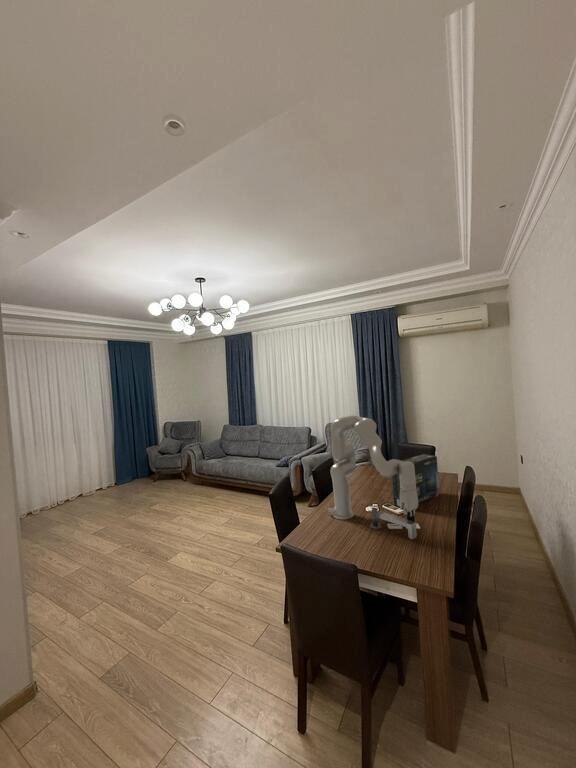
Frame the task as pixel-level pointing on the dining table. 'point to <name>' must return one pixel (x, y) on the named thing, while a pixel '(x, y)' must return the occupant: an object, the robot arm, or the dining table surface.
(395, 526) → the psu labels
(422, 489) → the router box
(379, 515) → the cable arm
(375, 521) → the post
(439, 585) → the dining table surface
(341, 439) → the robot arm
